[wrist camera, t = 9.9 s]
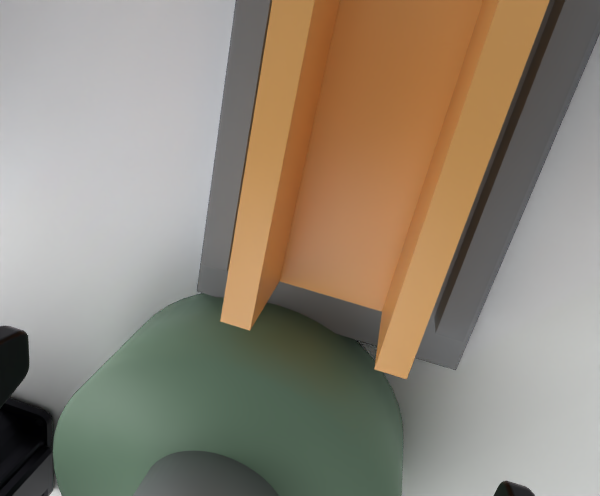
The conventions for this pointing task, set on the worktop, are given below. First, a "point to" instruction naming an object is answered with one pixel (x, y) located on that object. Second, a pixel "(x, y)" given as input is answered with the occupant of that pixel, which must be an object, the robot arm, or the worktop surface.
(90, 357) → the worktop surface
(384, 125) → the chute
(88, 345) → the worktop surface
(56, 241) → the worktop surface
